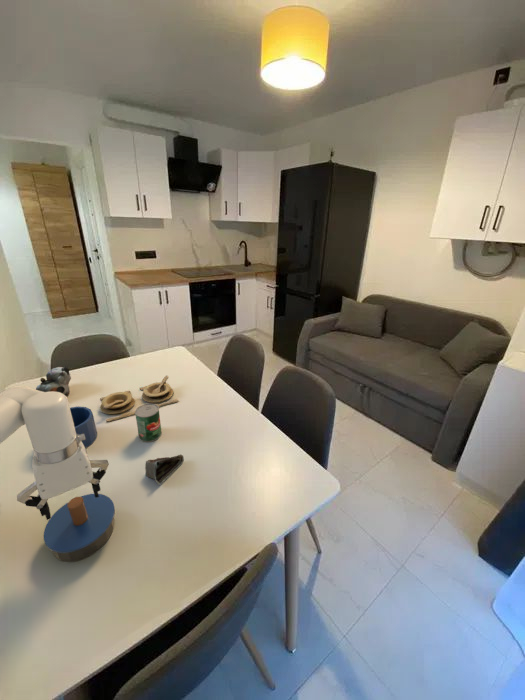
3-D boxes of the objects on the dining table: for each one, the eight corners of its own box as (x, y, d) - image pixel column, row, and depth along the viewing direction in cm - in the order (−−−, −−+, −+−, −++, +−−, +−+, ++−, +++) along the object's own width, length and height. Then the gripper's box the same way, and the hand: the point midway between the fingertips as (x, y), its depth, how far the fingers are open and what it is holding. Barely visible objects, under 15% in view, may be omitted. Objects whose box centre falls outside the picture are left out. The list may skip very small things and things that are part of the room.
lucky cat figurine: (30, 394, 126) (36, 363, 127) (63, 395, 135) (68, 365, 136) (38, 399, 116) (44, 364, 117) (72, 399, 125) (78, 367, 126)
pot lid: (35, 563, 62) (25, 542, 59) (55, 504, 75) (48, 484, 72) (111, 543, 67) (105, 522, 64) (118, 491, 80) (113, 471, 77)
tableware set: (166, 382, 141) (165, 371, 139) (180, 402, 126) (179, 390, 124) (97, 399, 125) (94, 387, 123) (104, 424, 111) (101, 411, 108)
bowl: (44, 570, 65) (39, 557, 63) (61, 516, 76) (57, 504, 74) (110, 551, 69) (107, 539, 67) (117, 503, 80) (114, 492, 79)
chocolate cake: (170, 452, 99) (142, 446, 90) (185, 455, 96) (158, 449, 86) (161, 483, 95) (132, 479, 86) (177, 486, 92) (148, 483, 83)
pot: (46, 457, 94) (38, 434, 90) (58, 431, 106) (52, 409, 102) (93, 449, 98) (87, 427, 95) (100, 425, 110) (95, 404, 106)
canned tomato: (158, 442, 103) (155, 416, 99) (135, 442, 103) (131, 416, 98) (164, 427, 110) (161, 403, 106) (142, 427, 110) (139, 403, 105)
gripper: (98, 423, 69) (109, 476, 76) (4, 453, 59) (26, 511, 66) (106, 441, 64) (116, 496, 71) (4, 478, 54) (27, 538, 61)
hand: (73, 503), depth 68 cm, fingers open, 9 cm apart
